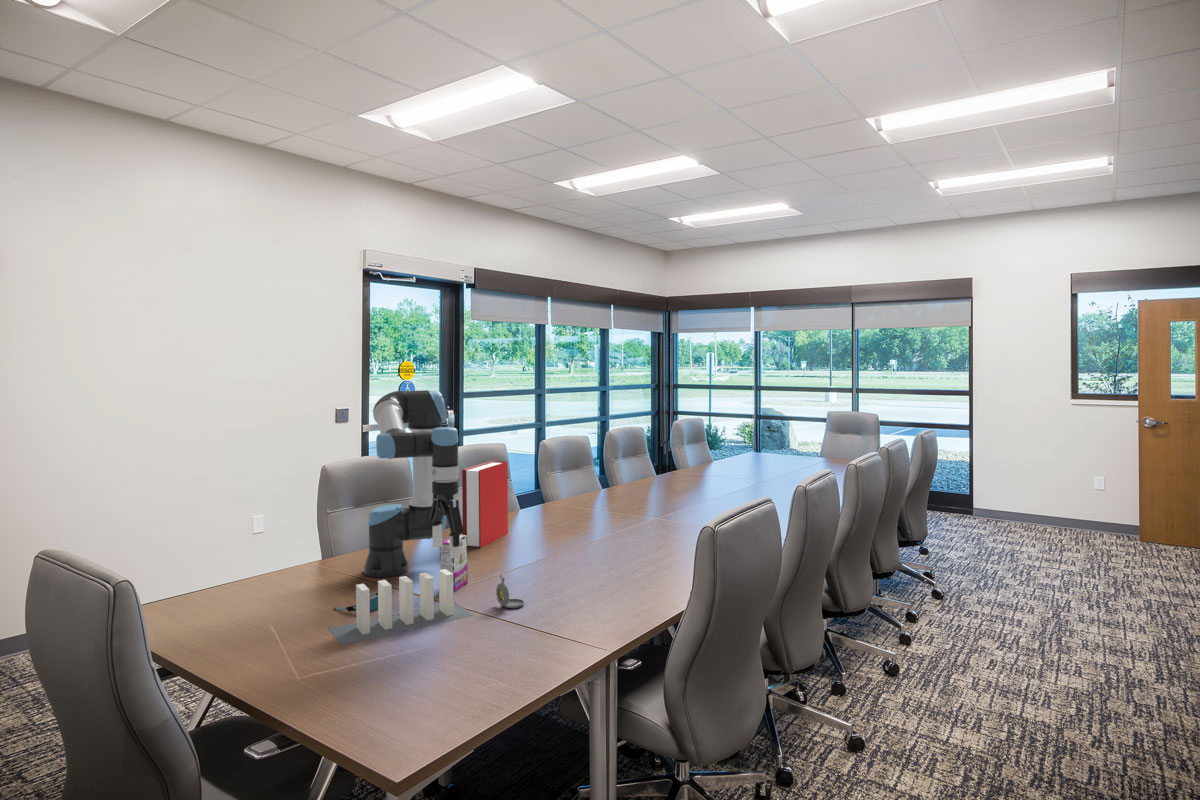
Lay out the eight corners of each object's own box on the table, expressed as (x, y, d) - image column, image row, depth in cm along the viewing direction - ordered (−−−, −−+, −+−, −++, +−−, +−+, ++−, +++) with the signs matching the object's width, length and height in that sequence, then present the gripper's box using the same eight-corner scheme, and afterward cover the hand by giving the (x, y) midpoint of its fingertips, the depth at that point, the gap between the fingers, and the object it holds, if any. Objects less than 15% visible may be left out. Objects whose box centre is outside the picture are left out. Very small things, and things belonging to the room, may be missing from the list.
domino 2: (378, 622, 187) (377, 580, 187) (385, 621, 188) (385, 579, 188) (384, 629, 182) (384, 586, 182) (392, 628, 183) (391, 585, 183)
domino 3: (399, 618, 191) (399, 577, 190) (406, 616, 192) (405, 576, 191) (406, 624, 186) (405, 582, 185) (413, 623, 187) (412, 581, 186)
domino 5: (439, 609, 197) (439, 570, 197) (445, 608, 199) (445, 569, 198) (447, 615, 192) (446, 575, 192) (453, 614, 194) (453, 574, 193)
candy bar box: (454, 582, 225) (453, 534, 224) (468, 583, 224) (467, 534, 223) (439, 592, 214) (439, 542, 213) (454, 593, 213) (453, 543, 212)
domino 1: (356, 627, 184) (355, 584, 183) (364, 626, 185) (363, 583, 184) (362, 634, 179) (361, 590, 178) (370, 632, 180) (369, 589, 179)
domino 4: (419, 614, 194) (419, 573, 193) (426, 612, 195) (426, 572, 195) (427, 620, 189) (426, 578, 189) (434, 618, 190) (433, 577, 190)
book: (480, 548, 268) (479, 469, 267) (462, 547, 270) (462, 469, 269) (509, 532, 294) (508, 461, 293) (492, 531, 296) (492, 460, 295)
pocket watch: (527, 603, 204) (527, 571, 204) (515, 612, 196) (515, 579, 196) (503, 600, 207) (503, 568, 207) (490, 609, 199) (490, 576, 199)
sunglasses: (369, 617, 193) (367, 600, 193) (329, 618, 198) (326, 601, 198) (399, 601, 206) (397, 585, 206) (360, 602, 211) (358, 587, 211)
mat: (328, 629, 183) (328, 628, 183) (455, 603, 204) (455, 601, 204) (341, 646, 172) (341, 645, 172) (473, 616, 193) (473, 615, 193)
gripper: (418, 475, 202) (418, 544, 203) (449, 487, 181) (450, 564, 182) (441, 473, 206) (442, 541, 207) (474, 485, 186) (475, 559, 187)
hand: (445, 552), depth 195 cm, fingers open, 13 cm apart
